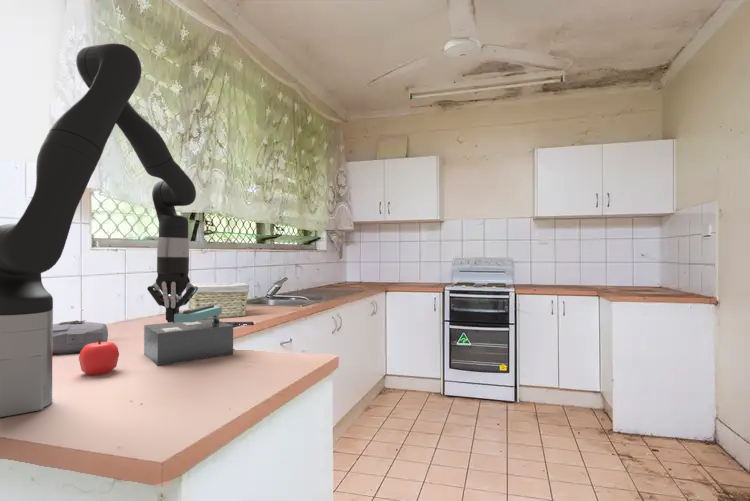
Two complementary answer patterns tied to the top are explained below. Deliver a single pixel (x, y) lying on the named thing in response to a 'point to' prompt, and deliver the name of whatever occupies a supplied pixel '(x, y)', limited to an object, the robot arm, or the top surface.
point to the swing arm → (198, 314)
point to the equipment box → (187, 341)
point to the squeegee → (239, 323)
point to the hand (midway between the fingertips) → (172, 322)
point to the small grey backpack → (77, 335)
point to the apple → (98, 358)
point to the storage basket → (221, 298)
